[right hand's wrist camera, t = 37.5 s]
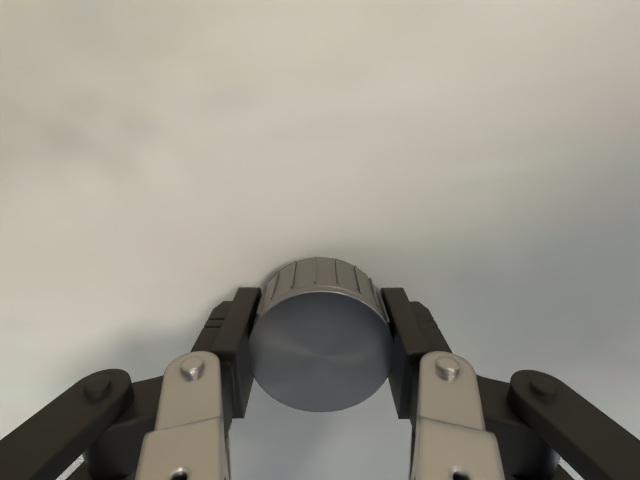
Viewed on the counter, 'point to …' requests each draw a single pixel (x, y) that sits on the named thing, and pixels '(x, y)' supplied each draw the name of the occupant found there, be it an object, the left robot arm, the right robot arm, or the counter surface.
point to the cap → (321, 336)
